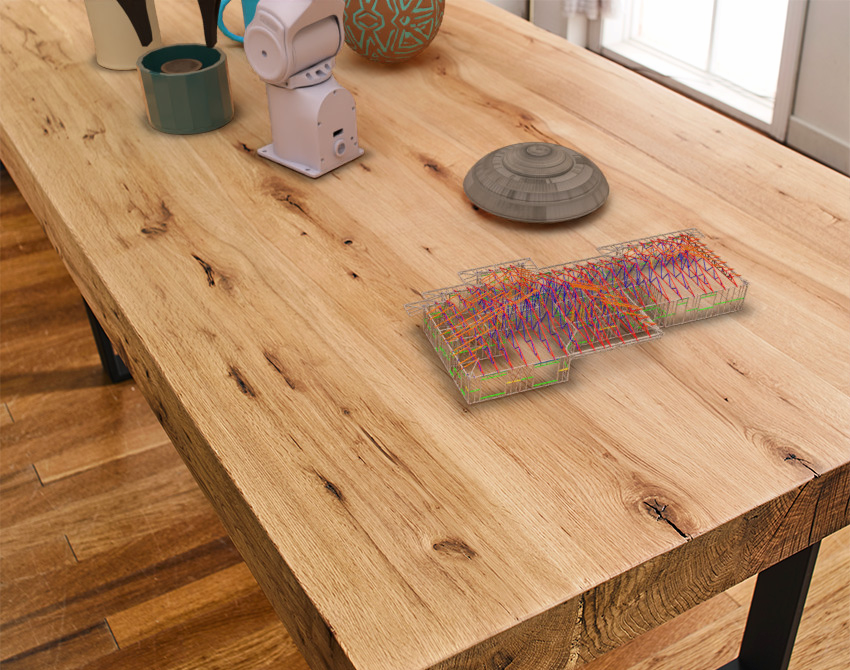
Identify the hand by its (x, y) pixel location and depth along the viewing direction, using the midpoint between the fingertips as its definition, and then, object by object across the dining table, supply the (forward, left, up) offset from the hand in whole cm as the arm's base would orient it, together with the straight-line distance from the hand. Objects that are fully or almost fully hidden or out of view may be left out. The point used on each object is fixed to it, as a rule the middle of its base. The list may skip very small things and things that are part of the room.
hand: (179, 44), depth 107 cm
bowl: (0, 0, -9) cm, 9 cm away
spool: (0, 0, -8) cm, 8 cm away
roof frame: (-60, +5, -9) cm, 61 cm away
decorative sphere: (-6, -29, -9) cm, 31 cm away
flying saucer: (-44, -10, -9) cm, 46 cm away
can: (+22, -7, -9) cm, 25 cm away
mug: (+12, -22, -9) cm, 26 cm away
